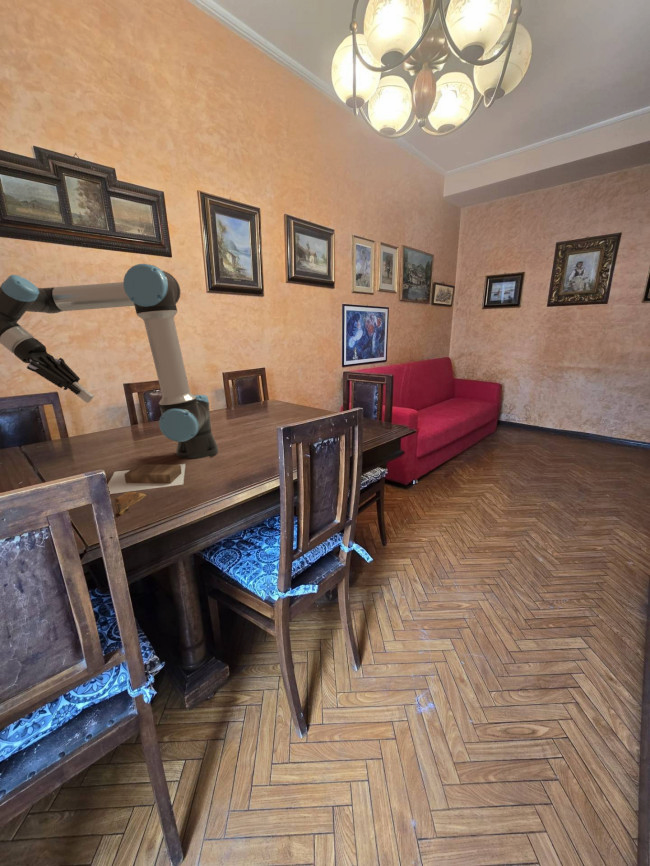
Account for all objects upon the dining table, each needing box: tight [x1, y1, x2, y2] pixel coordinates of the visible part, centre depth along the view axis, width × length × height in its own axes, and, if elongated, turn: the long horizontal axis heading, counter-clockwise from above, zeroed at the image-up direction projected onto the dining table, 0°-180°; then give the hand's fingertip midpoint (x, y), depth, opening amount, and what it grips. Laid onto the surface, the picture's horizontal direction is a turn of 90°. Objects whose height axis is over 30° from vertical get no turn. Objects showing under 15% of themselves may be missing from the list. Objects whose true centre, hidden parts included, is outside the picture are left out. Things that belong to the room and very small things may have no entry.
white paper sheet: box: [107, 463, 186, 495], centre depth 112 cm, size 22×18×1 cm
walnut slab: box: [124, 464, 181, 484], centre depth 111 cm, size 3×8×14 cm
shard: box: [114, 491, 147, 516], centre depth 96 cm, size 11×8×2 cm
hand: (90, 399), depth 110 cm, fingers closed
